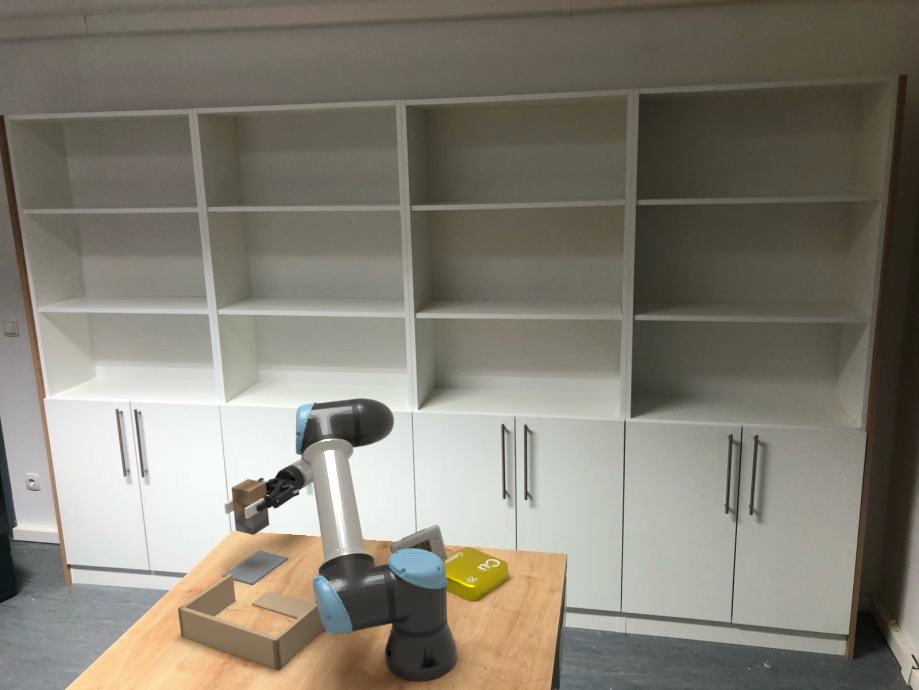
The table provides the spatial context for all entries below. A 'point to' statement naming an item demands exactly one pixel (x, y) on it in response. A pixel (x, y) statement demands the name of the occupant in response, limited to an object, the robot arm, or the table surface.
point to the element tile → (474, 573)
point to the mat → (256, 567)
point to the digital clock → (423, 542)
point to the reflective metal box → (245, 497)
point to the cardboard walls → (244, 640)
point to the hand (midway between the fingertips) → (236, 511)
